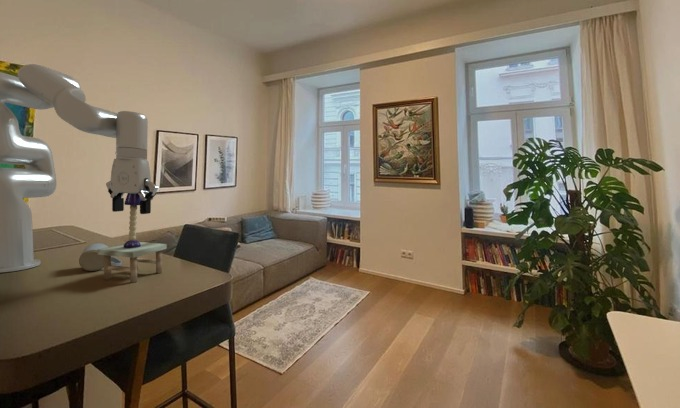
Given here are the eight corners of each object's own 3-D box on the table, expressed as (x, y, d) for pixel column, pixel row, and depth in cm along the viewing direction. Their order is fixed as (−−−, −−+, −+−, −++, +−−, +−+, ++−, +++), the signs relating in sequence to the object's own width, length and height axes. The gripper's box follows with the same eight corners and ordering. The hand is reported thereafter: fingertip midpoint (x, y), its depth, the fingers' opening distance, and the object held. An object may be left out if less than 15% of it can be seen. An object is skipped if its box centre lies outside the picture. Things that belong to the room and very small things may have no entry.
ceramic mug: (77, 273, 90) (77, 248, 89) (82, 266, 97) (82, 243, 96) (120, 269, 95) (120, 246, 95) (122, 263, 102) (122, 241, 102)
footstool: (98, 280, 84) (97, 249, 84) (135, 268, 96) (134, 241, 96) (133, 284, 82) (133, 252, 82) (166, 271, 94) (166, 244, 93)
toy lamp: (130, 244, 91) (130, 190, 90) (146, 245, 91) (146, 191, 90) (120, 247, 86) (120, 191, 85) (136, 248, 86) (137, 191, 85)
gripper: (95, 152, 85) (95, 211, 86) (146, 154, 81) (145, 215, 83) (119, 155, 92) (119, 209, 93) (167, 157, 89) (166, 213, 90)
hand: (131, 212), depth 88 cm, fingers open, 9 cm apart
